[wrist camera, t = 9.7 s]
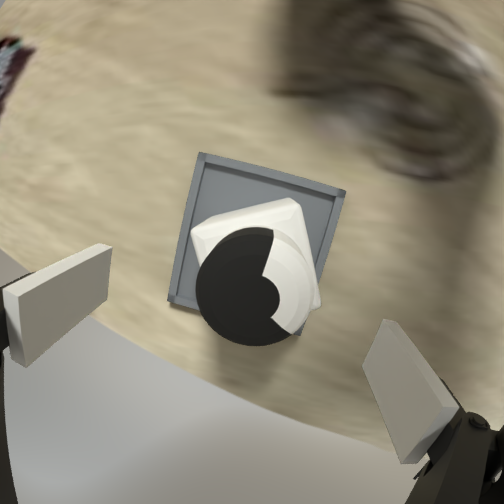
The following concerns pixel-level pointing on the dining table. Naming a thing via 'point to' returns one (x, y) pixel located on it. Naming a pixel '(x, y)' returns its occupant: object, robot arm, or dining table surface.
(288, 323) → the container
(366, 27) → the dining table surface
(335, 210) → the tray
